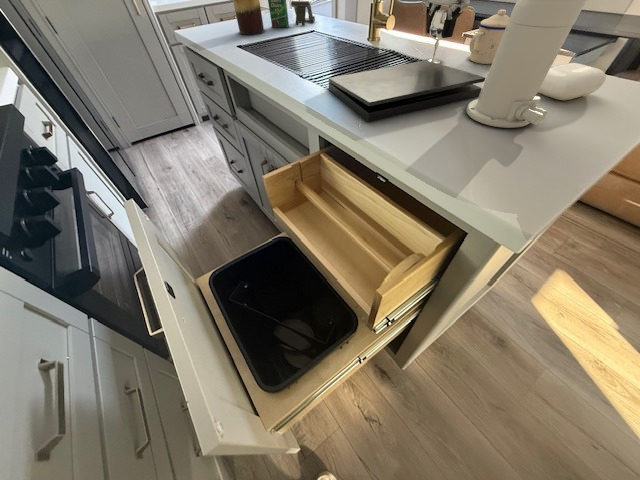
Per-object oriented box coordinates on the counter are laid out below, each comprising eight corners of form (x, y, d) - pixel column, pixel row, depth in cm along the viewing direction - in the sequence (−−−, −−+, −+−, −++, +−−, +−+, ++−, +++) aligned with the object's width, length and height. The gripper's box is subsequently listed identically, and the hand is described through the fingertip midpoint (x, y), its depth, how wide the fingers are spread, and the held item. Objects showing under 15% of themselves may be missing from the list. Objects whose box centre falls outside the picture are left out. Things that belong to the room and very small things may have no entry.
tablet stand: (315, 22, 129) (314, -2, 122) (308, 25, 124) (307, 1, 118) (298, 21, 131) (297, -2, 125) (291, 24, 126) (289, 1, 120)
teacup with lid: (485, 54, 85) (502, 6, 76) (508, 61, 79) (529, 10, 71) (454, 59, 82) (468, 10, 74) (475, 68, 77) (493, 15, 68)
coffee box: (271, 27, 124) (265, -11, 114) (273, 26, 126) (268, -12, 116) (286, 28, 122) (282, -12, 112) (289, 26, 124) (285, -12, 114)
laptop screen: (484, 82, 61) (485, 77, 61) (369, 107, 55) (369, 102, 54) (426, 63, 75) (426, 60, 75) (328, 82, 69) (328, 78, 68)
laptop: (479, 96, 64) (482, 87, 62) (367, 121, 57) (368, 112, 55) (424, 71, 77) (426, 63, 75) (328, 89, 70) (328, 81, 69)
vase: (259, 34, 115) (248, -33, 100) (236, 35, 116) (221, -32, 101) (267, 29, 122) (257, -35, 107) (244, 29, 123) (232, -34, 108)
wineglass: (443, 65, 79) (457, 13, 70) (423, 65, 80) (434, 13, 71) (441, 59, 83) (454, 9, 74) (422, 59, 84) (432, 9, 75)
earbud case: (521, 91, 64) (533, 66, 60) (559, 82, 67) (573, 57, 63) (561, 107, 58) (578, 79, 54) (601, 96, 61) (620, 69, 57)
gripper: (425, -58, 68) (410, 31, 81) (475, -60, 57) (448, 43, 70) (449, -60, 69) (430, 27, 83) (502, -61, 59) (471, 39, 72)
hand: (439, 34), depth 77 cm, fingers closed on wineglass, 5 cm apart
